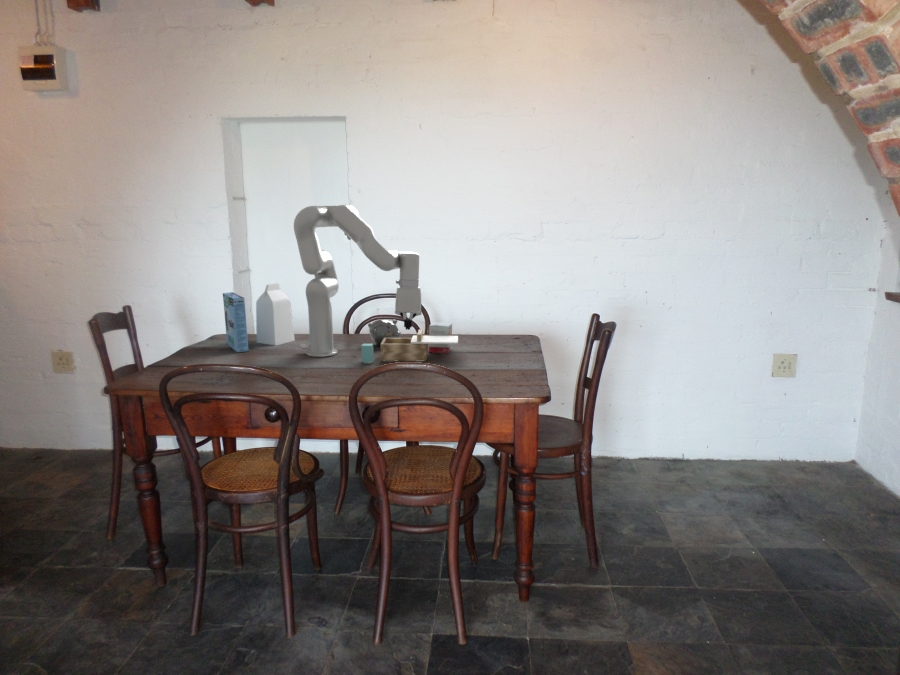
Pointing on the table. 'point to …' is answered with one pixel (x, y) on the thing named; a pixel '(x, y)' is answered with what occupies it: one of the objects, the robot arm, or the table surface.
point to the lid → (433, 339)
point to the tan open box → (403, 350)
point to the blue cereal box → (235, 321)
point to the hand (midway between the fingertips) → (407, 329)
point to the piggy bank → (383, 330)
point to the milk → (274, 317)
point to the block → (367, 353)
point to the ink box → (440, 330)
